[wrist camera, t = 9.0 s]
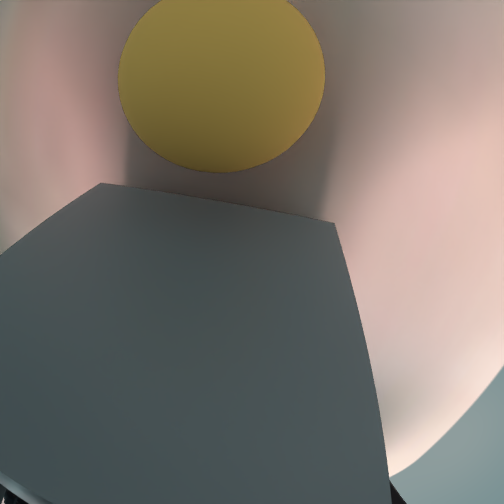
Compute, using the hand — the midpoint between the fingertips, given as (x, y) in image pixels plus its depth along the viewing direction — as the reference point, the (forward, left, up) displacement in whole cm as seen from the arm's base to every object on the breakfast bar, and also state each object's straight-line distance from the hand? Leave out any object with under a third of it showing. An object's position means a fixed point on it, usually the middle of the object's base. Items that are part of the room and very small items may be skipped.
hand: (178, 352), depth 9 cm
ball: (+7, 0, -2) cm, 8 cm away
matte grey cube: (0, 0, -3) cm, 3 cm away
